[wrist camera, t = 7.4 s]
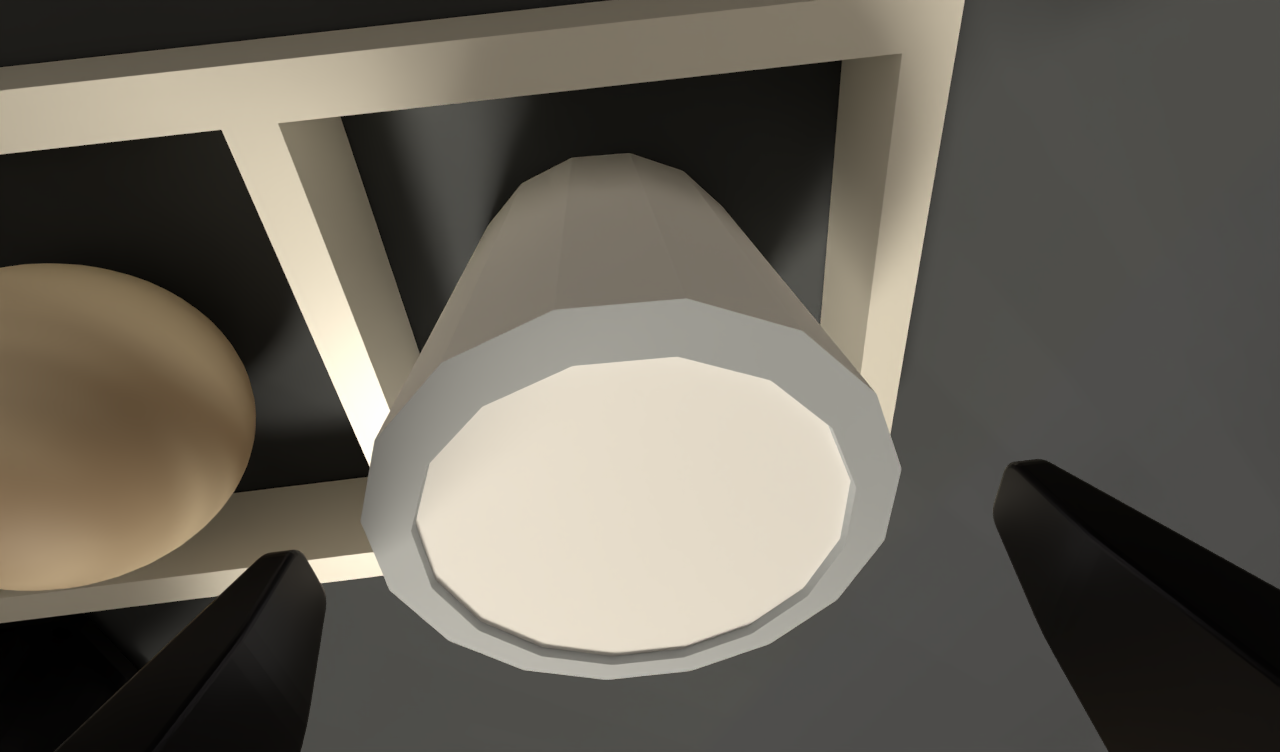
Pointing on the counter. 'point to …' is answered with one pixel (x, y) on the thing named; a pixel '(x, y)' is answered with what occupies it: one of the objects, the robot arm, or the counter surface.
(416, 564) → the white and grey cylinder
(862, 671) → the counter surface
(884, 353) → the holder
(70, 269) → the tan wooden ball
